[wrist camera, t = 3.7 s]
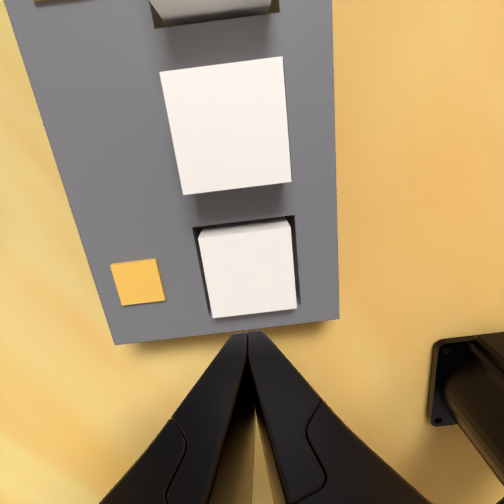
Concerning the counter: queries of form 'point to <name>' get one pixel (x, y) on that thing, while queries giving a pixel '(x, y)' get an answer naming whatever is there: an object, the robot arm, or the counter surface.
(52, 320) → the counter surface
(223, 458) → the robot arm
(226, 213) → the keyguard plate
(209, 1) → the key
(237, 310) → the key
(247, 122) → the middle key
